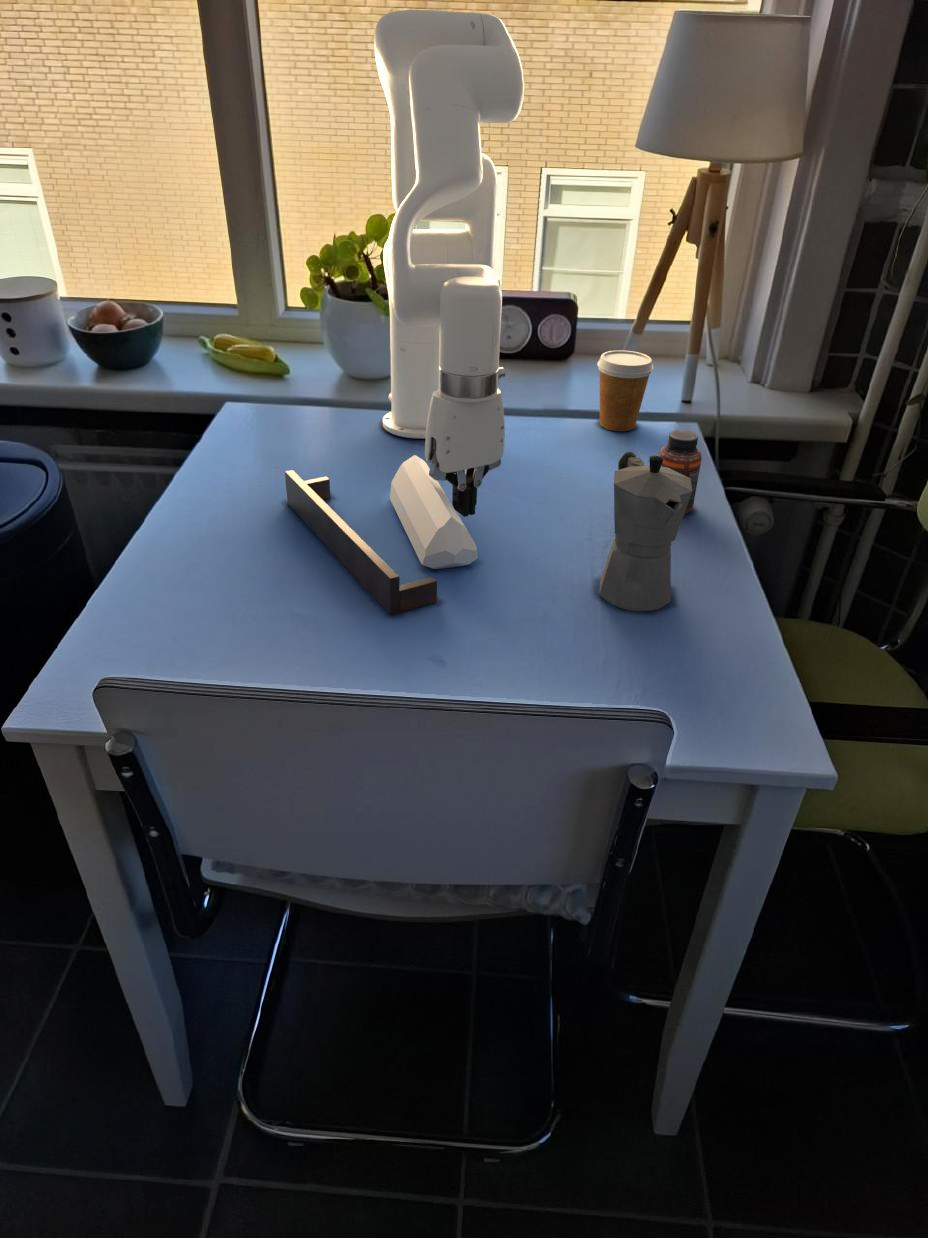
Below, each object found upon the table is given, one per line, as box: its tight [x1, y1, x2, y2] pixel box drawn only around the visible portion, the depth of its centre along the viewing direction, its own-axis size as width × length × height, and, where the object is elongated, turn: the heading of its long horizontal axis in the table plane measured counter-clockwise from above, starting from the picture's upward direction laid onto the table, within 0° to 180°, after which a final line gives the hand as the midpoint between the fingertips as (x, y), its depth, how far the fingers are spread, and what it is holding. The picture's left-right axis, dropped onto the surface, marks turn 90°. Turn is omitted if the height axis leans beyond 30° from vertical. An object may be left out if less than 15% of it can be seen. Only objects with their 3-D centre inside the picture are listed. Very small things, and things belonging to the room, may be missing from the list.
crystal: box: [389, 454, 479, 570], centre depth 119 cm, size 7×7×24 cm
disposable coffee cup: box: [596, 349, 654, 432], centre depth 152 cm, size 10×10×12 cm
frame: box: [284, 469, 438, 616], centre depth 114 cm, size 33×6×5 cm, turn 30°
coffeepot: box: [599, 451, 692, 612], centre depth 104 cm, size 15×9×18 cm, turn 13°
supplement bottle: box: [658, 429, 703, 515], centre depth 125 cm, size 6×6×11 cm
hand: (464, 511), depth 121 cm, fingers closed
